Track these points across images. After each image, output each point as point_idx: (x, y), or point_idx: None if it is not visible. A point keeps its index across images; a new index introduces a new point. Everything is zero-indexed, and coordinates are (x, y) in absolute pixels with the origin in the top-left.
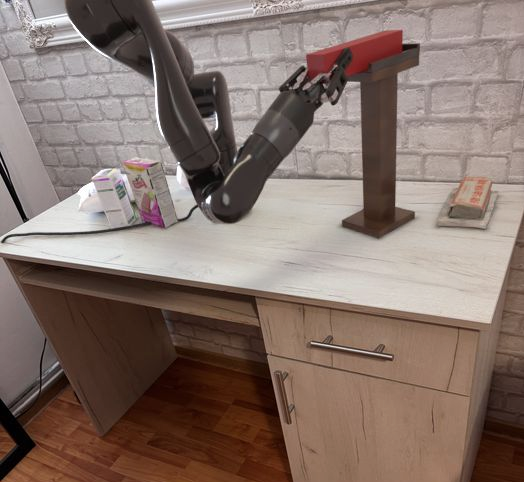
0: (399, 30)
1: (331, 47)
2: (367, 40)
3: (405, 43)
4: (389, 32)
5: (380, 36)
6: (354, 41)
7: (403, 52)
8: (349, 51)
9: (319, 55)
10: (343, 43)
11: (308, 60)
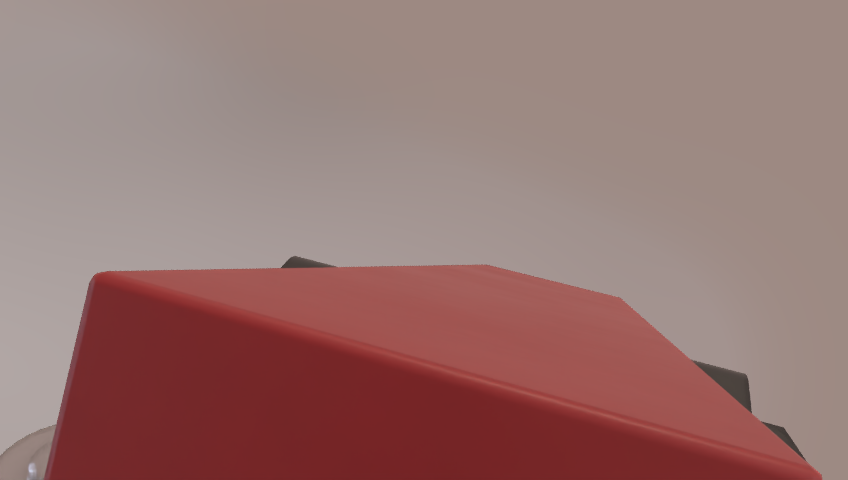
0: (615, 297)
1: (398, 278)
2: (638, 317)
3: None
4: (583, 291)
5: (629, 308)
6: (504, 285)
7: None
8: (781, 430)
9: (623, 446)
10: (427, 270)
11: (136, 433)
